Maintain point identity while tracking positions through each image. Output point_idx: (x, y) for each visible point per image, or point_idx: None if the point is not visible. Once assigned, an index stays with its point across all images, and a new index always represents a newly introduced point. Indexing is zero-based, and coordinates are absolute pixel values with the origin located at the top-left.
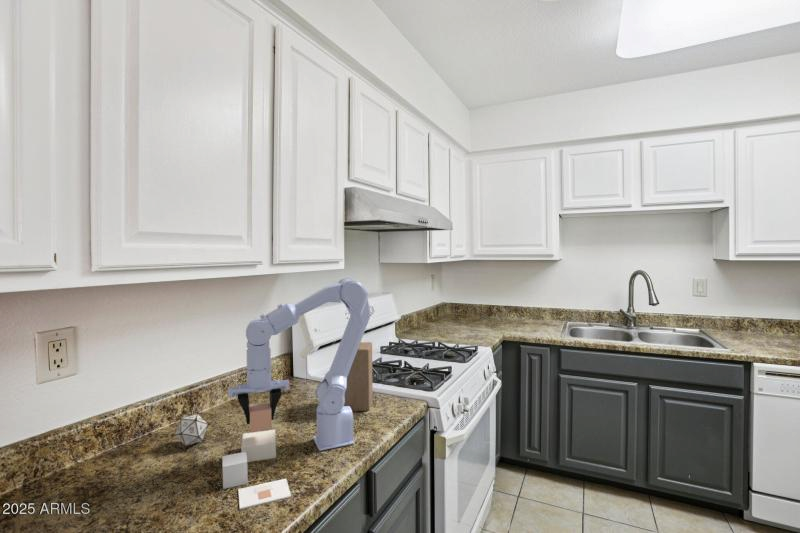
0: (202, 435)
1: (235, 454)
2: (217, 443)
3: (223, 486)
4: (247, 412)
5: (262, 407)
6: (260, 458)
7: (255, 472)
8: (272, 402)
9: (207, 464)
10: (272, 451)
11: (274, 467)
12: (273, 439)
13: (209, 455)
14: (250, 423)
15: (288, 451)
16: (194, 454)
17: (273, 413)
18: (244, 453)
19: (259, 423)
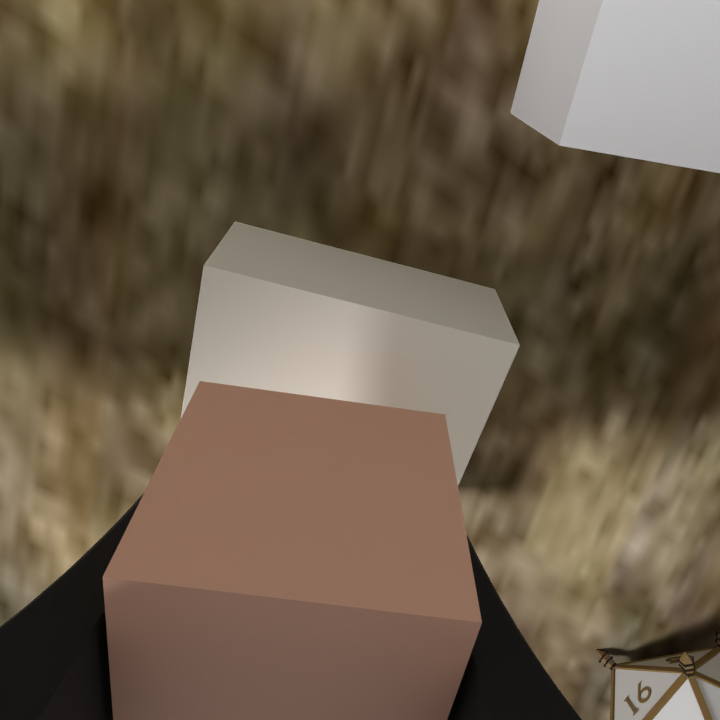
0: (639, 686)
1: (679, 142)
2: (539, 607)
3: None
4: (496, 655)
5: (242, 686)
6: (355, 257)
7: (447, 62)
8: (26, 707)
9: (695, 397)
10: (251, 247)
11: (279, 52)
12: (211, 346)
13: (635, 500)
14: (454, 485)
15: (121, 264)
16: (702, 554)
17: (108, 543)
18: (591, 104)
19: (335, 457)
